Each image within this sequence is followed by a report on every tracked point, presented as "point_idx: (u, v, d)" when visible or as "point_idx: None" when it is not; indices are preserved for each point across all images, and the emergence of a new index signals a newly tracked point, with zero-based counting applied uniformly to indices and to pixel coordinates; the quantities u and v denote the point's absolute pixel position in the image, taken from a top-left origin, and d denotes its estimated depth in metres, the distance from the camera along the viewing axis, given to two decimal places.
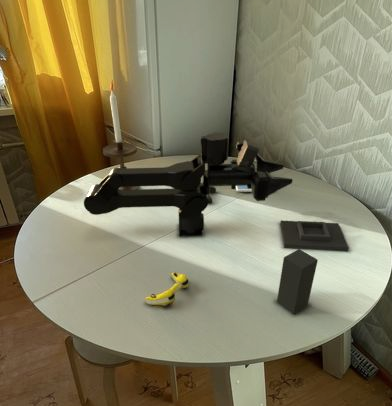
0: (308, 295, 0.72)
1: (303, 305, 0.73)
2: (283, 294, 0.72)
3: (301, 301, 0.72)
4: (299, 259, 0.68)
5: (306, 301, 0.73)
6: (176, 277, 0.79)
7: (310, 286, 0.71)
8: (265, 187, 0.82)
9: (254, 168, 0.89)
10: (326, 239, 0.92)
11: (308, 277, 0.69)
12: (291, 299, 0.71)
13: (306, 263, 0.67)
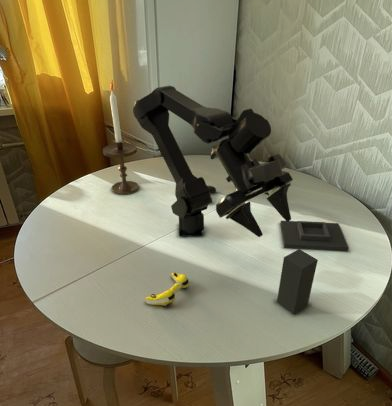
0: (308, 295, 0.72)
1: (303, 305, 0.73)
2: (283, 294, 0.72)
3: (301, 301, 0.72)
4: (299, 259, 0.68)
5: (306, 301, 0.73)
6: (176, 277, 0.79)
7: (310, 286, 0.71)
8: (227, 209, 0.69)
9: (258, 189, 0.73)
10: (326, 239, 0.92)
11: (308, 277, 0.69)
12: (291, 299, 0.71)
13: (306, 263, 0.67)
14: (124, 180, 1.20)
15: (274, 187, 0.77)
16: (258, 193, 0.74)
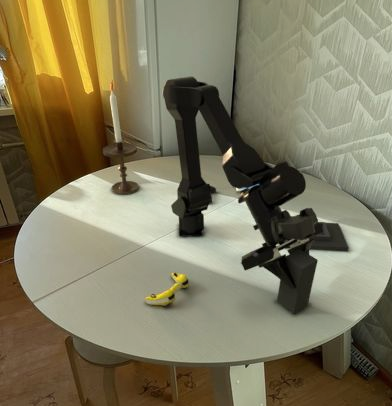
0: (308, 295, 0.72)
1: (303, 305, 0.73)
2: (283, 294, 0.72)
3: (301, 301, 0.72)
4: (299, 259, 0.68)
5: (306, 301, 0.73)
6: (176, 277, 0.79)
7: (310, 286, 0.71)
8: (253, 265, 0.66)
9: None
10: (326, 239, 0.92)
11: (308, 277, 0.69)
12: (291, 299, 0.71)
13: (306, 263, 0.67)
14: (124, 180, 1.20)
15: (296, 241, 0.72)
16: (286, 245, 0.71)
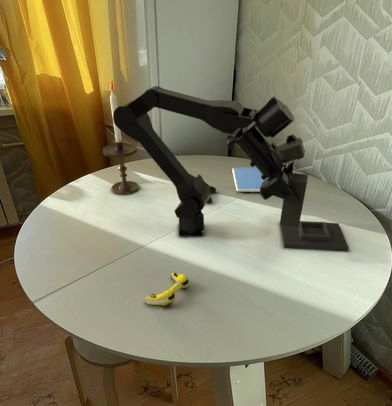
0: None
1: None
2: (287, 213, 0.85)
3: None
4: (297, 177, 0.82)
5: None
6: (176, 277, 0.79)
7: None
8: (277, 190, 0.75)
9: None
10: (326, 239, 0.92)
11: None
12: (296, 214, 0.85)
13: (304, 178, 0.81)
14: (124, 180, 1.20)
15: (282, 168, 0.85)
16: None
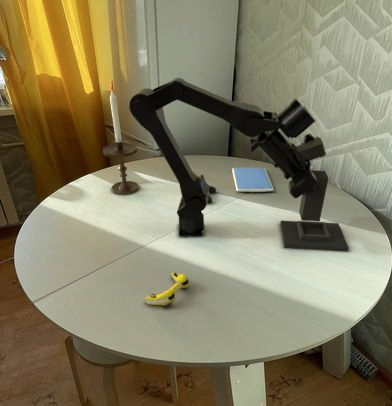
0: None
1: None
2: (309, 209, 0.89)
3: None
4: (317, 174, 0.86)
5: None
6: (176, 277, 0.79)
7: None
8: (308, 188, 0.78)
9: None
10: (326, 239, 0.92)
11: None
12: (317, 209, 0.89)
13: (324, 174, 0.86)
14: (124, 180, 1.20)
15: None
16: None
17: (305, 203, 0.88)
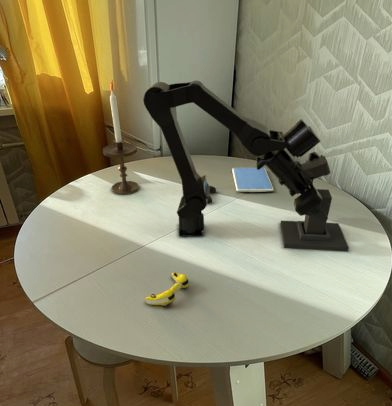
0: None
1: None
2: (313, 227, 0.92)
3: None
4: (321, 193, 0.88)
5: None
6: (176, 277, 0.79)
7: None
8: (313, 206, 0.81)
9: None
10: (326, 239, 0.92)
11: None
12: (321, 227, 0.91)
13: (327, 194, 0.88)
14: (124, 180, 1.20)
15: None
16: None
17: (309, 221, 0.91)
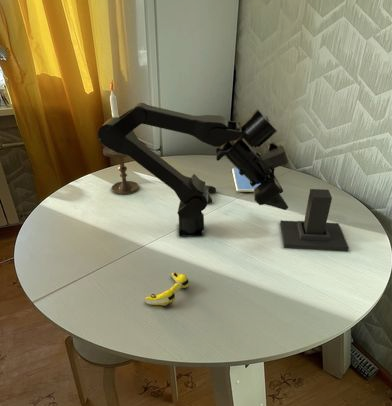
0: None
1: None
2: (313, 227, 0.92)
3: None
4: (321, 193, 0.88)
5: None
6: (176, 277, 0.79)
7: None
8: (271, 195, 0.81)
9: None
10: (326, 239, 0.92)
11: None
12: (321, 227, 0.91)
13: (327, 194, 0.88)
14: (124, 180, 1.20)
15: None
16: None
17: (309, 221, 0.91)
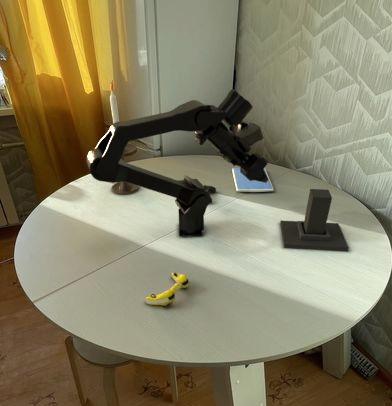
0: None
1: None
2: (313, 227, 0.92)
3: None
4: (321, 193, 0.88)
5: None
6: (176, 277, 0.79)
7: None
8: (261, 169, 0.86)
9: None
10: (326, 239, 0.92)
11: None
12: (321, 227, 0.91)
13: (327, 194, 0.88)
14: None
15: None
16: None
17: (309, 221, 0.91)
